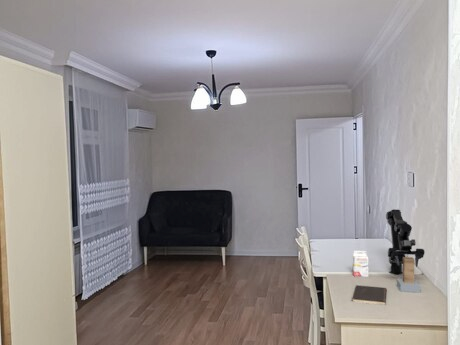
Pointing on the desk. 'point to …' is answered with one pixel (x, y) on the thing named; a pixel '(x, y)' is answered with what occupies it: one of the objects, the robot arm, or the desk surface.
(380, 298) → the hardcover book
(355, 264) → the ink cartridge box
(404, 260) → the walnut post
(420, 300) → the desk surface
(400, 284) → the slate plinth
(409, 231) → the robot arm
